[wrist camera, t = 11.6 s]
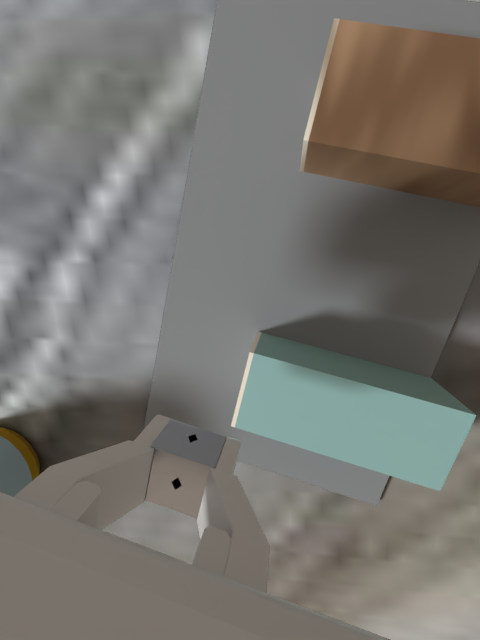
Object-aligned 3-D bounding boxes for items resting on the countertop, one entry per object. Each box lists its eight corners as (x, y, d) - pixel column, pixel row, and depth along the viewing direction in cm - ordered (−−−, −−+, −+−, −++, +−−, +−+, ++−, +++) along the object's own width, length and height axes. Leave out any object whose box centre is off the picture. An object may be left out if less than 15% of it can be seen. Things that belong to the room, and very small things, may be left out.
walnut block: (334, 18, 10) (646, 61, 9) (322, 84, 14) (540, 120, 13) (303, 140, 11) (583, 193, 10) (299, 171, 15) (502, 211, 14)
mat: (224, -23, 14) (222, -31, 14) (575, 22, 12) (583, 15, 12) (146, 426, 20) (143, 430, 20) (374, 500, 19) (376, 505, 18)
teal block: (249, 352, 13) (476, 415, 12) (258, 331, 17) (431, 378, 16) (230, 426, 14) (439, 491, 13) (243, 391, 18) (405, 438, 17)
